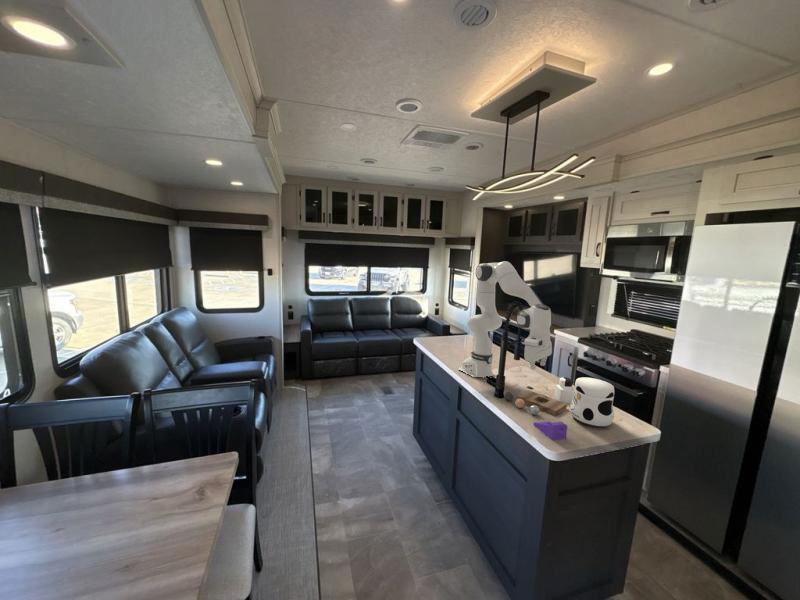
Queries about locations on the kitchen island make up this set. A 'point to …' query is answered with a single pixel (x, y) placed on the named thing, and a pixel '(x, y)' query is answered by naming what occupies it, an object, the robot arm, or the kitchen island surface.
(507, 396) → the rubber ball
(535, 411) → the steel ball
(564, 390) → the medicine bottle
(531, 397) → the hole plate
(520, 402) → the terracotta ball
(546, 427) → the bracket
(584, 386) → the doce de leite tub
